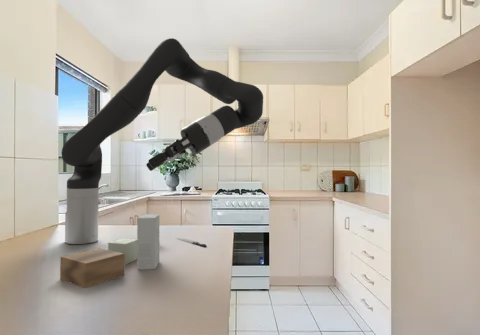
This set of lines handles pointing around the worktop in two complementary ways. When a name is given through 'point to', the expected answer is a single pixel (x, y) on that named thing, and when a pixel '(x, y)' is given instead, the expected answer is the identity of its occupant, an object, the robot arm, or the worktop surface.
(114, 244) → the grey-green cube
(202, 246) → the chef's knife
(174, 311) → the worktop surface
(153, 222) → the skincare box
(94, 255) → the walnut block
